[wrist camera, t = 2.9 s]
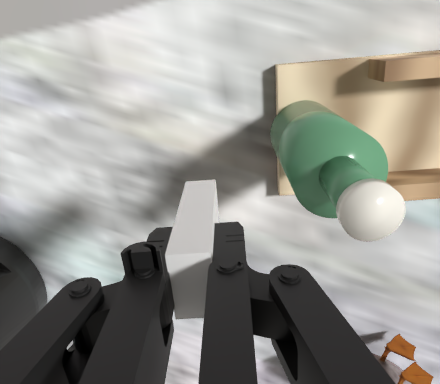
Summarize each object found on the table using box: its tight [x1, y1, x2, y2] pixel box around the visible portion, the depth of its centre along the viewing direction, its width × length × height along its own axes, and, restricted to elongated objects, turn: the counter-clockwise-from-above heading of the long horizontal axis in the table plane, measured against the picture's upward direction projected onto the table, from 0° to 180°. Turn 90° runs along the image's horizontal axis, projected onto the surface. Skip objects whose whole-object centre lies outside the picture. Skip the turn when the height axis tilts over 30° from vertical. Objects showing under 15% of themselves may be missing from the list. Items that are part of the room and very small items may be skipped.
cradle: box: [275, 50, 440, 201], centre depth 27 cm, size 22×11×6 cm, turn 95°
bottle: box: [270, 100, 406, 242], centre depth 22 cm, size 5×5×15 cm
